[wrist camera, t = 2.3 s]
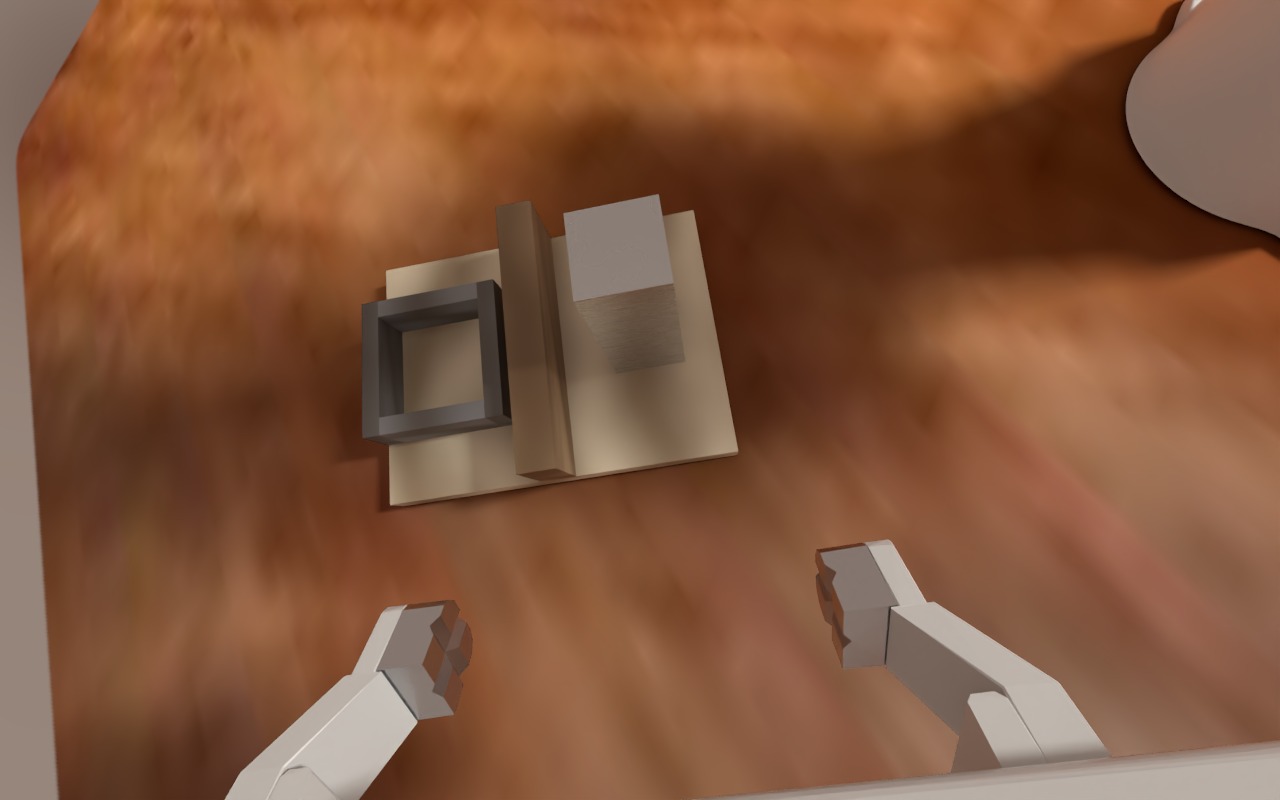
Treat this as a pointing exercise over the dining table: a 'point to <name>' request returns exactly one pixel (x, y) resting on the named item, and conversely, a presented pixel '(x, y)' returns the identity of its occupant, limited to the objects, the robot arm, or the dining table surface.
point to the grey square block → (625, 282)
